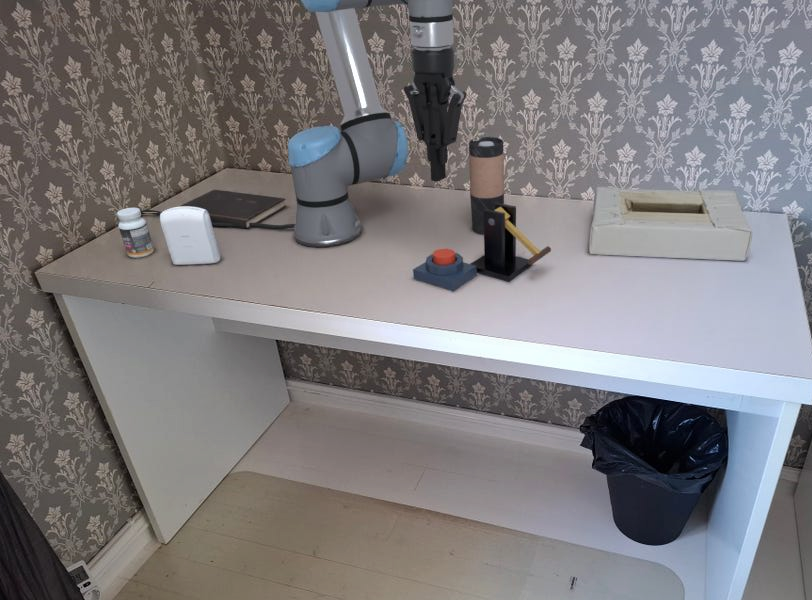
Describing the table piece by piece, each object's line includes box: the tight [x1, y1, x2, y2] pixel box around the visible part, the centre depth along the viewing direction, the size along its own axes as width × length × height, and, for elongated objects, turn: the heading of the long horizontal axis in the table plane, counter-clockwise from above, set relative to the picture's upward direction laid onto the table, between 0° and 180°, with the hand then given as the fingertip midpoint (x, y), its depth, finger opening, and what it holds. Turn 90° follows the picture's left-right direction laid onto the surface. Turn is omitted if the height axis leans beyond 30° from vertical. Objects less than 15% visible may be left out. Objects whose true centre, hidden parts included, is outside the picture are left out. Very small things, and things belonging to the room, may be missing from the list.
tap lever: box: [494, 207, 552, 266], centre depth 133 cm, size 13×7×2 cm
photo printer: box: [159, 205, 221, 266], centre depth 144 cm, size 10×4×12 cm, turn 90°
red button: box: [432, 248, 456, 265], centre depth 134 cm, size 4×4×2 cm
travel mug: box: [468, 136, 505, 235], centre depth 152 cm, size 8×8×20 cm
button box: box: [412, 252, 478, 292], centre depth 136 cm, size 10×8×4 cm
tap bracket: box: [470, 203, 533, 283], centre depth 136 cm, size 10×9×13 cm
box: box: [588, 186, 753, 262], centre depth 148 cm, size 23×8×32 cm
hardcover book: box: [178, 188, 288, 230], centre depth 172 cm, size 16×23×2 cm
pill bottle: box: [116, 207, 155, 259], centre depth 150 cm, size 6×6×10 cm
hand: (438, 178), depth 131 cm, fingers closed
